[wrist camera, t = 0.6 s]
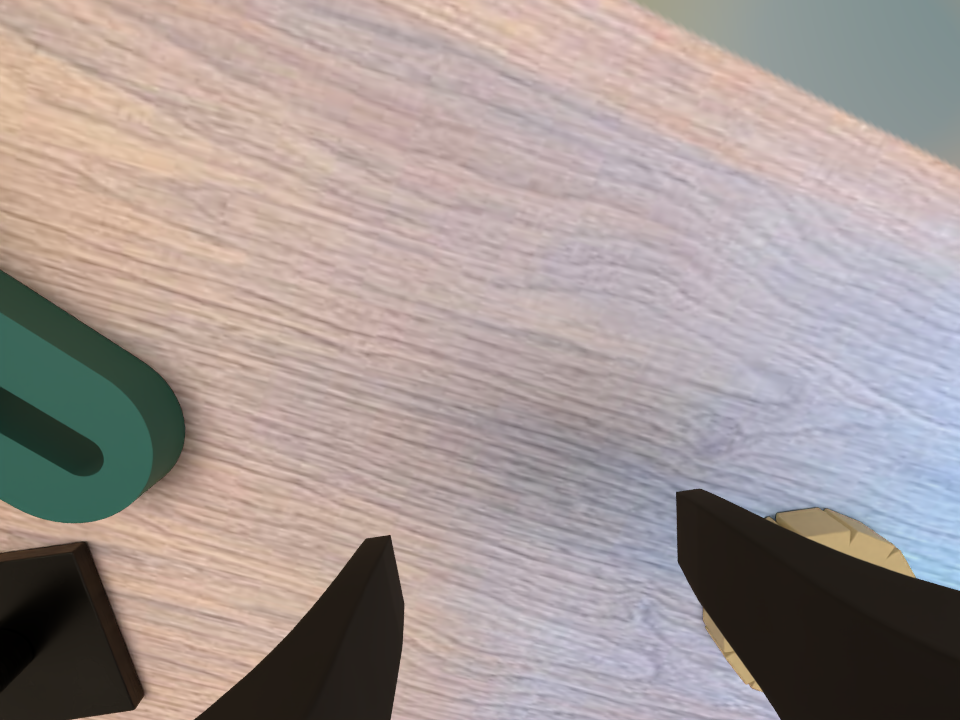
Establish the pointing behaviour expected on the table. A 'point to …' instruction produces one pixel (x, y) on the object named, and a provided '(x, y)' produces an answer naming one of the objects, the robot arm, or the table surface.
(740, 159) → the table surface
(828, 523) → the tan segmented ring
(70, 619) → the post
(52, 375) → the bracket
